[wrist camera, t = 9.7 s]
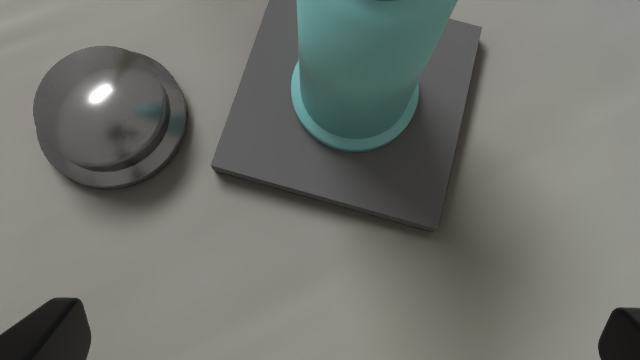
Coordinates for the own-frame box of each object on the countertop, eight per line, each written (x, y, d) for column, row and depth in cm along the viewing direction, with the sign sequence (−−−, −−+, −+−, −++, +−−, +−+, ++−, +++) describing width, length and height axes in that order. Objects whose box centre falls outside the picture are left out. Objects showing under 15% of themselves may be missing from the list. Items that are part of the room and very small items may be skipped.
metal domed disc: (206, 77, 23) (197, 55, 21) (157, 206, 21) (143, 195, 19) (77, 41, 23) (56, 16, 21) (19, 166, 21) (-10, 152, 19)
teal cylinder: (438, 79, 22) (532, -88, 13) (372, 176, 21) (423, 69, 12) (336, 16, 23) (355, -184, 14) (266, 107, 22) (234, -45, 12)
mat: (476, 36, 24) (482, 27, 23) (432, 232, 21) (437, 229, 20) (279, -16, 24) (278, -27, 23) (214, 170, 22) (210, 165, 21)
